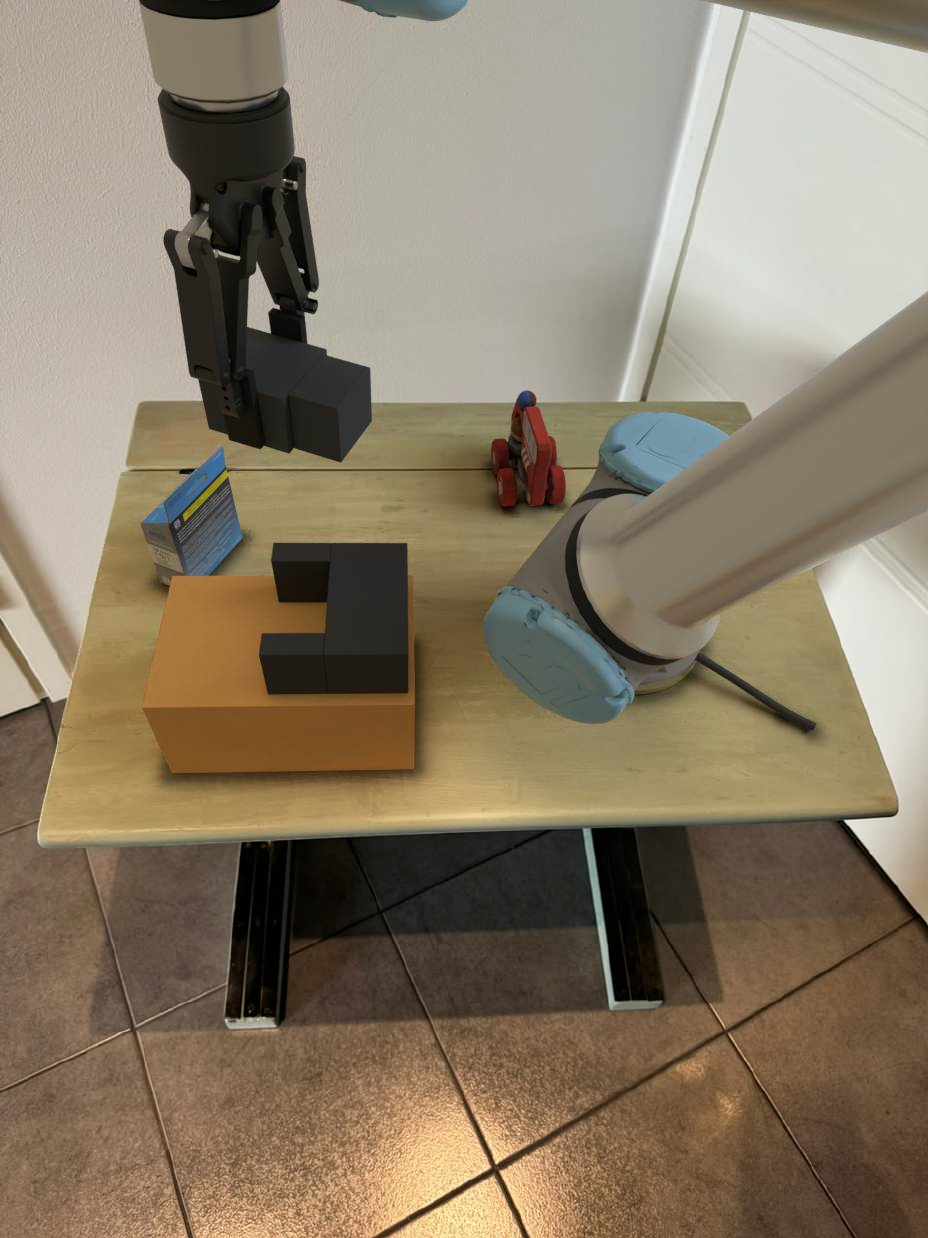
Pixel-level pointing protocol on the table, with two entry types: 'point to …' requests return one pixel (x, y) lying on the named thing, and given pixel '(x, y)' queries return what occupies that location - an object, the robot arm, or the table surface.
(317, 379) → the black stepped block
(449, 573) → the table surface
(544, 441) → the toy fire truck
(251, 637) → the orange and black block
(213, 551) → the blue retail box
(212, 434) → the table surface
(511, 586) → the robot arm
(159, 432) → the table surface
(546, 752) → the table surface
